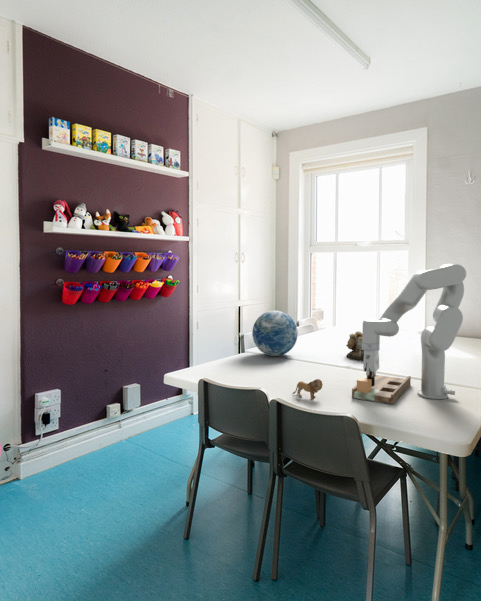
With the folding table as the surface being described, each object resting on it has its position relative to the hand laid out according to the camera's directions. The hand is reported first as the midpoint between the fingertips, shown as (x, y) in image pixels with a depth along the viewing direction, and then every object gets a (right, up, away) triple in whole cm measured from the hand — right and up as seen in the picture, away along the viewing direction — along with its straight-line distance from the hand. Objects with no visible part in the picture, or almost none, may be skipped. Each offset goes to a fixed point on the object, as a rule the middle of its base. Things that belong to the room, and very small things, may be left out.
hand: (370, 385), depth 201 cm
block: (-4, -2, -4) cm, 6 cm away
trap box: (+7, -4, +4) cm, 9 cm away
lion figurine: (-29, -5, -1) cm, 29 cm away
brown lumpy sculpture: (+14, +2, +77) cm, 78 cm away
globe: (-37, +2, +87) cm, 95 cm away
